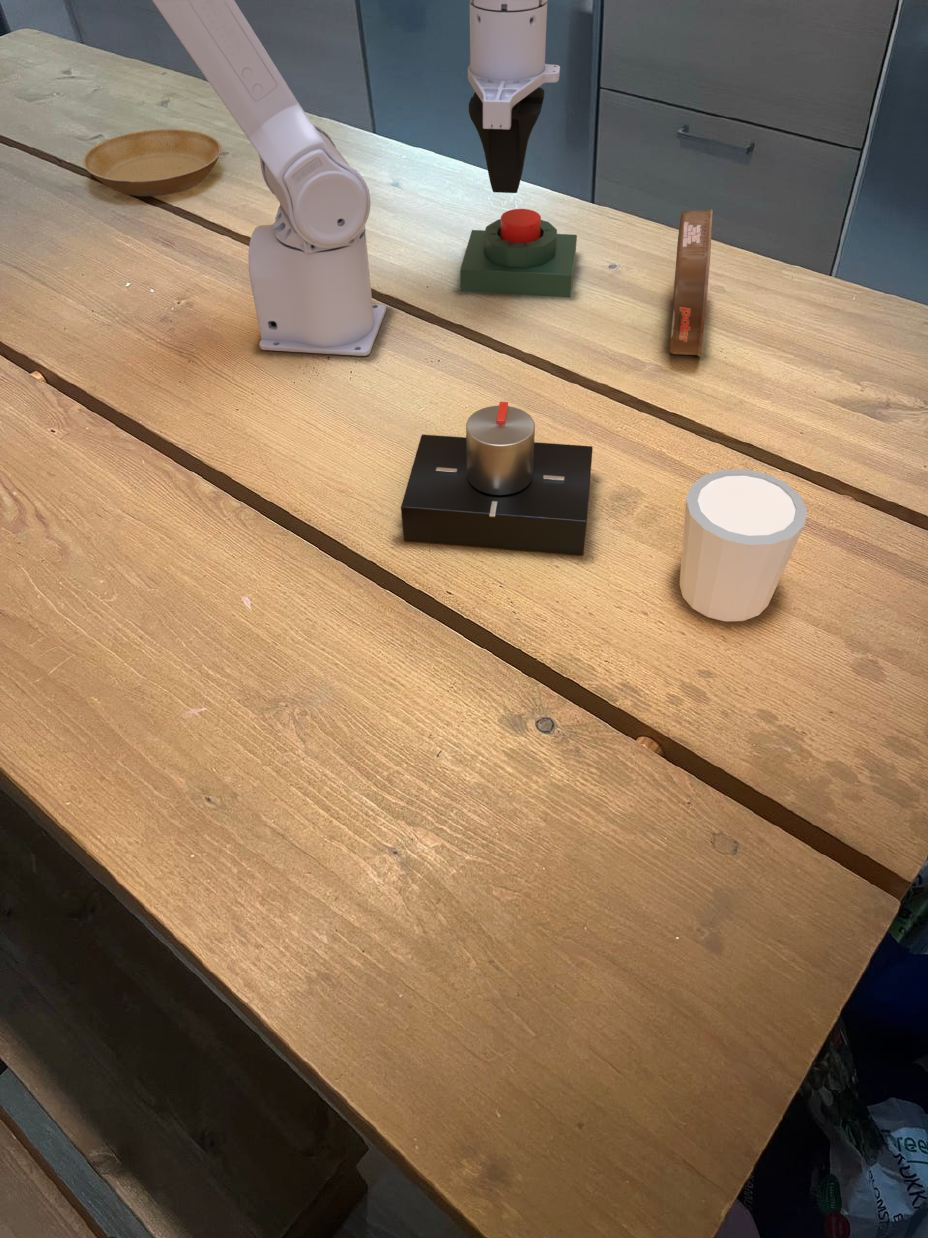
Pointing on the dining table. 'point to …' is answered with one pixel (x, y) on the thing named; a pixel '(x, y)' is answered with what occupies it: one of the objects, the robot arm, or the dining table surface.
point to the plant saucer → (153, 161)
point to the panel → (498, 501)
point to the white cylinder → (737, 541)
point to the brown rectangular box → (691, 282)
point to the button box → (519, 263)
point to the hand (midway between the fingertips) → (505, 189)
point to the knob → (500, 449)
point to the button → (520, 226)
